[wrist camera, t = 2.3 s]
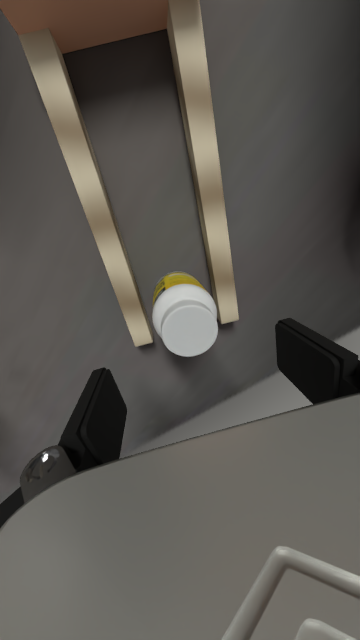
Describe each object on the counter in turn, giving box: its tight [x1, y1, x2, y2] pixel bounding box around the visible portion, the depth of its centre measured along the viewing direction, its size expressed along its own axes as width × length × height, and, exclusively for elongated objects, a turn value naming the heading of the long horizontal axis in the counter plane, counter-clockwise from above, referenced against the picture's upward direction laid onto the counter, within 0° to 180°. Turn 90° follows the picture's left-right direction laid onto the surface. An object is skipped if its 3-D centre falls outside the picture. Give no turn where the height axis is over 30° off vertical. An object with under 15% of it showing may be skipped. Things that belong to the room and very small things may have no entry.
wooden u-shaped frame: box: [0, 0, 239, 347], centre depth 17 cm, size 26×12×4 cm, turn 13°
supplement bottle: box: [152, 272, 218, 357], centre depth 18 cm, size 5×5×10 cm
